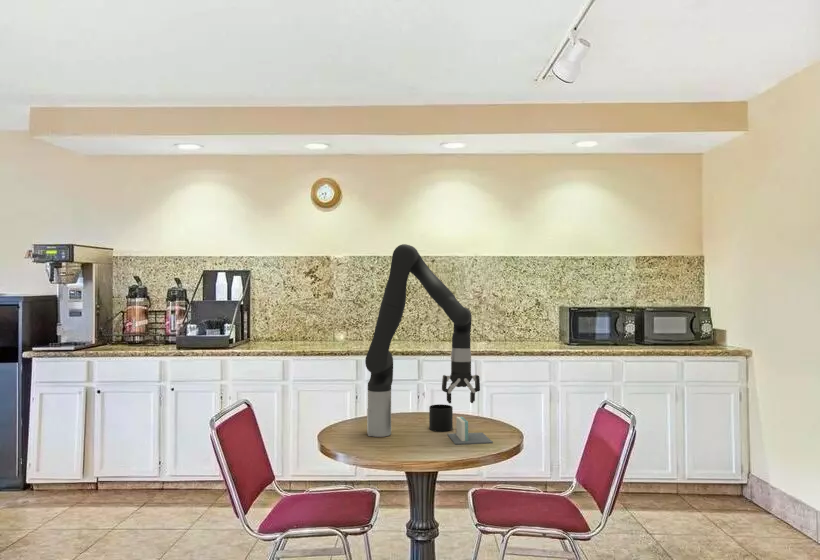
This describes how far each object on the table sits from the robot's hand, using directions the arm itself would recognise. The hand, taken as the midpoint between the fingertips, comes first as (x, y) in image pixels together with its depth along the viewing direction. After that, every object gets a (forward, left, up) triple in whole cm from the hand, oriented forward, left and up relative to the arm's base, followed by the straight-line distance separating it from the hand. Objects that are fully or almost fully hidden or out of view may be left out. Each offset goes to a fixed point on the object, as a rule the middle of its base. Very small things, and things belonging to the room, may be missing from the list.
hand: (460, 402), depth 208 cm
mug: (-5, +18, -14) cm, 23 cm away
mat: (+3, 0, -14) cm, 14 cm away
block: (0, 0, -13) cm, 13 cm away
